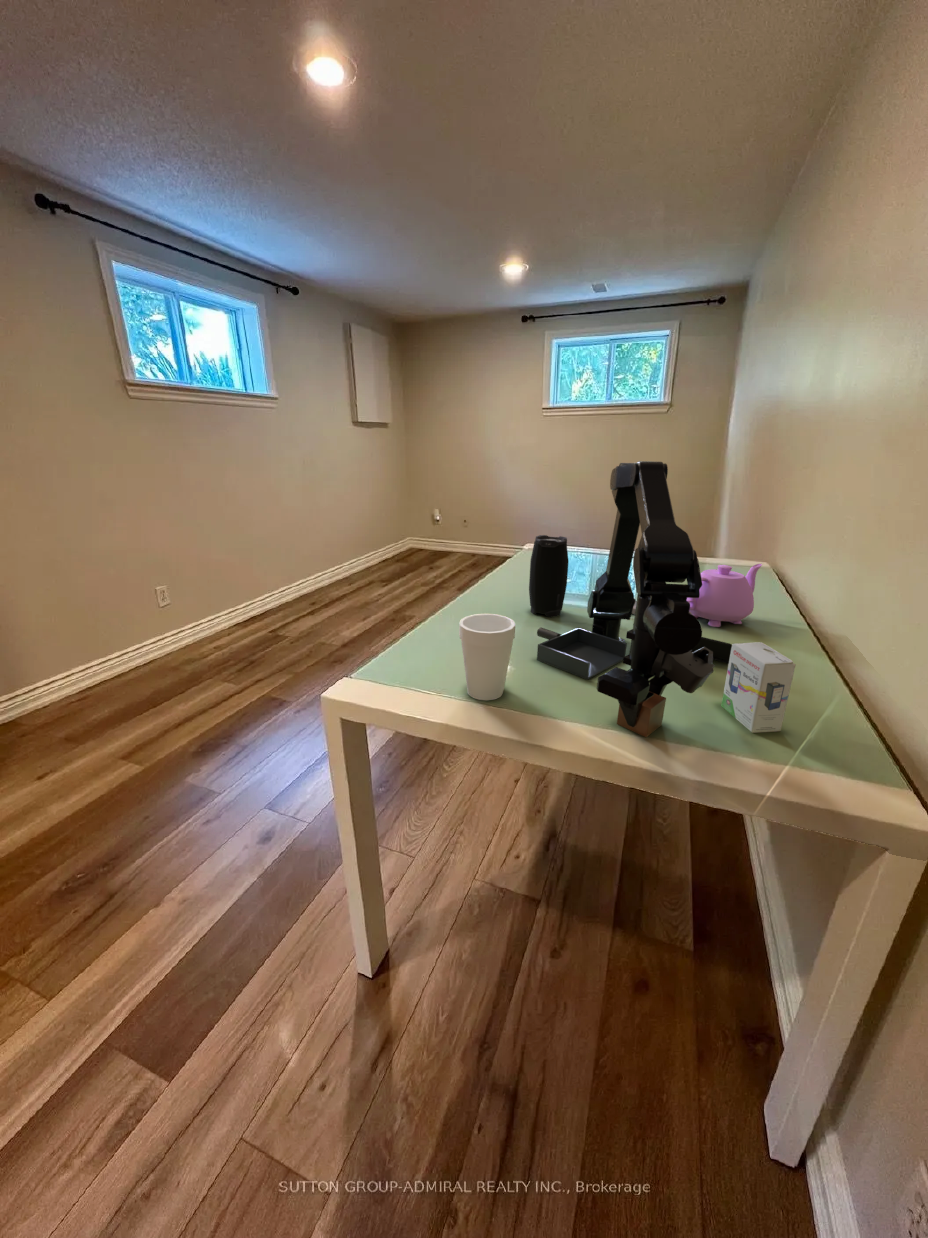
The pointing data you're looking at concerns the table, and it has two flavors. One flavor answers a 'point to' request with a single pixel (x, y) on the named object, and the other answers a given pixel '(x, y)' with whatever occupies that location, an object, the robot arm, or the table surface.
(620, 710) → the block
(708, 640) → the handheld gaming console
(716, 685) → the table surface
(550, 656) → the tray
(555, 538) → the portable speaker
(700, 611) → the teapot
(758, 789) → the table surface
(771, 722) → the ink box
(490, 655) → the foam cup
